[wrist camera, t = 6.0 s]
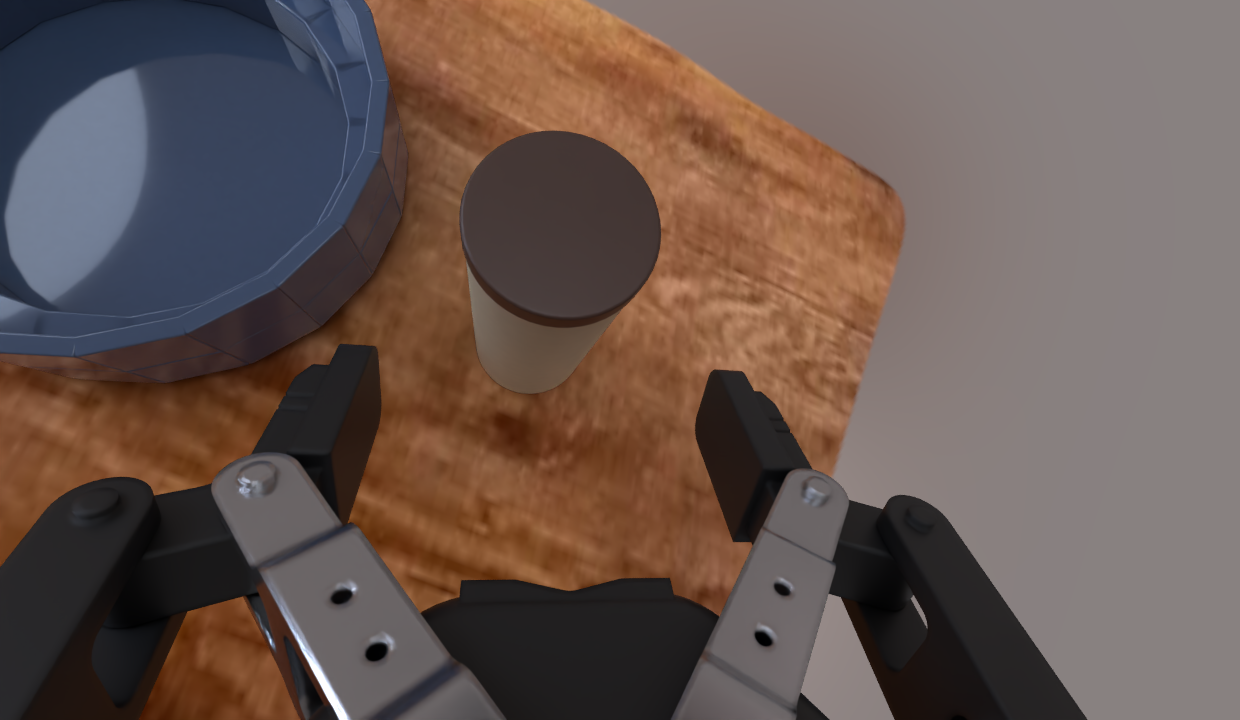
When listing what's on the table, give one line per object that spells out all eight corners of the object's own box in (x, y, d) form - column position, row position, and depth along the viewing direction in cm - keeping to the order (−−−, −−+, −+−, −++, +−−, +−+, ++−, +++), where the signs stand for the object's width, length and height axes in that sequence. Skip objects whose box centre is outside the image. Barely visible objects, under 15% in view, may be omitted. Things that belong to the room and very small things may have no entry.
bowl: (-163, 370, 19) (-412, 330, 14) (-34, -62, 23) (-193, -226, 17) (387, 396, 23) (355, 372, 17) (426, 19, 26) (410, -96, 21)
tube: (470, 392, 23) (450, 310, 12) (478, 286, 24) (467, 115, 13) (580, 397, 24) (661, 327, 13) (584, 295, 25) (662, 143, 14)
